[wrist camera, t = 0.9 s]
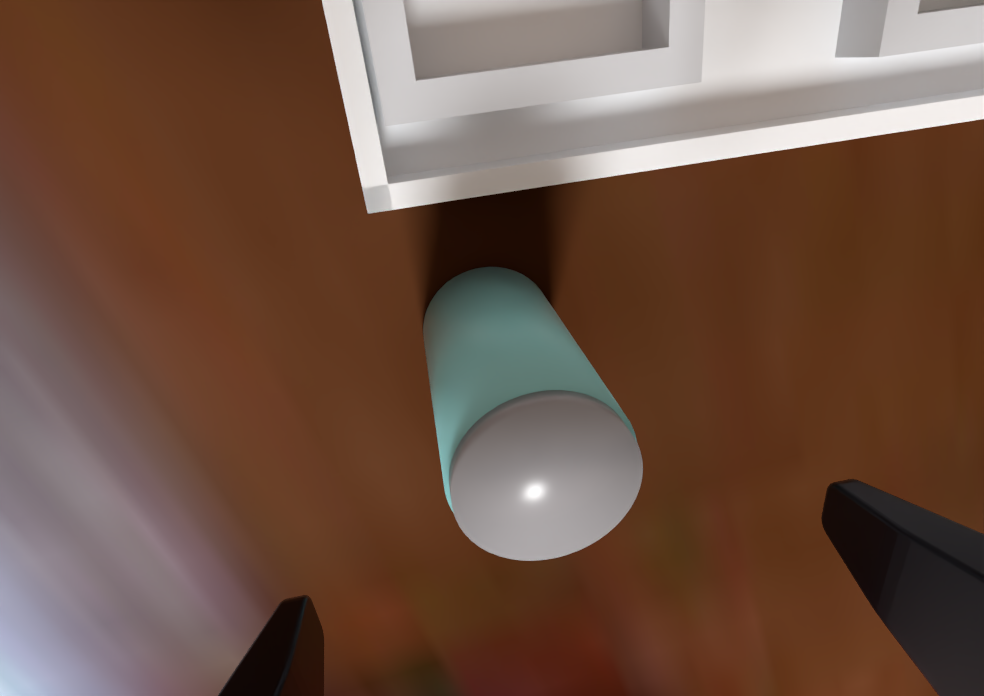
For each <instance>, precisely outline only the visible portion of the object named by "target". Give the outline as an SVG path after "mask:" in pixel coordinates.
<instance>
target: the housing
mask: <svg viewBox="0 0 984 696" xmlns="http://www.w3.org/2000/svg"><path fill="white" fill-rule="evenodd" d="M322 3H323V8H324V13H325V17H326V22H327V27H328V31H329V36H330V41H331V45H332V50H333V54H334V59H335V64H336V68H337V73H338V78H339V82H340V87H341V92H342V96H343V101H344V106H345V110H346V115H347V119H348V124H349V129H350V133H351V138H352V143H353V147H354V152H355V157H356V161H357V166H358V171H359V175H360V180H361V184H362V189H363V194H364V198H365V203H366V208H367V212H368V214H369V213H375V212H382V211H388V210H395V209H401V208H408V207H414V206H421V205H427V204H434V203H440V202H447V201H453V200H460V199H466V198H473V197H479V196H486V195H492V194H499V193H505V192H512V191H518V190H525V189H531V188H538V187H544V186H551V185H557V184H564V183H570V182H577V181H583V180H590V179H596V178H603V177H609V176H616V175H622V174H629V173H635V172H642V171H648V170H655V169H661V168H668V167H674V166H681V165H687V164H694V163H700V162H707V161H713V160H720V159H726V158H733V157H739V156H746V155H752V154H759V153H765V152H772V151H778V150H785V149H791V148H798V147H804V146H811V145H817V144H824V143H830V142H837V141H843V140H850V139H856V138H863V137H869V136H876V135H882V134H889V133H895V132H902V131H908V130H915V129H921V128H928V127H934V126H941V125H947V124H954V123H960V122H967V121H973V120H980V119H984V0H322Z"/></svg>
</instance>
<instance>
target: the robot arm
mask: <svg viewBox="0 0 984 696" xmlns="http://www.w3.org/2000/svg"><path fill="white" fill-rule="evenodd" d="M822 524H823V528H824V530H825V532H826V534H827V535H828V537H829V539H830V540H831V542H832V543H833V545H834V547H835V548H836V550H837V551H838V553H839V555H840V556H841V558H842V559H843V561H844V563H845V564H846V566H847V567H848V569H849V571H850V572H851V574H852V575H853V577H854V579H855V580H856V582H857V583H858V585H859V587H860V588H861V590H862V592H863V593H864V595H865V596H866V598H867V599H868V601H869V602H870V604H871V605H872V607H873V608H874V610H875V611H876V613H877V614H878V616H879V617H880V618H881V620H882V621H883V622H884V624H885V625H886V627H887V628H888V629H889V630H890V632H891V633H892V634H893V636H894V637H895V638H896V640H897V641H898V642H899V644H900V645H901V646H902V648H903V649H904V650H905V652H906V653H907V654H908V655H909V657H910V658H911V659H912V661H913V662H914V663H915V665H916V666H917V667H918V669H919V670H920V671H921V673H922V674H923V675H924V677H925V678H926V679H927V680H928V682H929V683H930V684H931V686H932V687H933V688H934V690H935V691H936V692H937V694H938V695H939V696H984V534H982V533H980V532H977V531H975V530H973V529H970V528H968V527H966V526H963V525H961V524H959V523H956V522H954V521H952V520H949V519H947V518H945V517H942V516H940V515H938V514H935V513H933V512H931V511H928V510H926V509H924V508H921V507H919V506H917V505H914V504H912V503H910V502H907V501H905V500H903V499H900V498H898V497H896V496H893V495H891V494H889V493H886V492H884V491H882V490H879V489H877V488H875V487H872V486H870V485H868V484H865V483H863V482H861V481H858V480H855V479H848V480H843V481H839V482H834V483H831V484H830V485H829V486H828V488H827V492H826V497H825V502H824V507H823V512H822ZM218 696H324V636H323V630H322V626H321V624H320V621H319V618H318V616H317V613H316V610H315V608H314V605H313V603H312V600H311V598H310V597H309V596H307V595H303V596H298V597H293V598H288V599H285V600H283V601H282V602H281V603H280V604H279V605H278V607H277V608H276V610H275V611H274V613H273V614H272V616H271V617H270V619H269V620H268V622H267V623H266V625H265V626H264V628H263V629H262V631H261V632H260V634H259V635H258V637H257V638H256V640H255V641H254V642H253V644H252V645H251V647H250V648H249V650H248V651H247V653H246V654H245V656H244V657H243V659H242V660H241V662H240V663H239V665H238V666H237V668H236V669H235V671H234V672H233V674H232V675H231V677H230V678H229V680H228V681H227V683H226V684H225V686H224V687H223V689H222V690H221V692H220V693H219V695H218Z"/></svg>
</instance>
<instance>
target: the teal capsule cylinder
mask: <svg viewBox="0 0 984 696" xmlns="http://www.w3.org/2000/svg"><path fill="white" fill-rule="evenodd" d="M423 337H424V345H425V352H426V359H427V367H428V374H429V381H430V388H431V396H432V403H433V410H434V417H435V424H436V432H437V439H438V446H439V453H440V461H441V468H442V475H443V482H444V490H445V494H446V497H447V501H448V503H449V505H450V507H451V509H452V511H453V513H454V515H455V518H456V520H457V522H458V524H459V526H460V528H461V529H462V531H463V532H464V533H465V535H466V536H467V537H468V538H469V539H470V540H471V541H472V542H474V543H475V544H476V545H478V546H479V547H481V548H482V549H484V550H486V551H488V552H490V553H492V554H495V555H498V556H501V557H505V558H509V559H515V560H527V561H534V560H546V559H552V558H557V557H561V556H564V555H568V554H570V553H573V552H576V551H578V550H581V549H583V548H585V547H587V546H589V545H591V544H592V543H594V542H596V541H597V540H599V539H600V538H602V537H603V536H604V535H606V534H607V533H608V532H610V531H611V530H612V529H613V528H614V527H615V526H616V525H617V524H618V523H619V522H620V521H621V520H622V519H623V517H624V516H625V515H626V514H627V512H628V511H629V509H630V508H631V506H632V504H633V503H634V501H635V499H636V497H637V494H638V491H639V489H640V485H641V481H642V473H643V464H642V456H641V452H640V449H639V446H638V444H637V440H636V436H635V432H634V430H633V428H632V425H631V423H630V422H629V420H628V418H627V417H626V415H625V414H624V412H623V411H622V409H621V408H620V406H619V405H618V404H617V402H616V401H615V399H614V398H613V396H612V395H611V393H610V392H609V390H608V389H607V387H606V386H605V384H604V383H603V381H602V380H601V378H600V377H599V375H598V374H597V373H596V371H595V370H594V368H593V367H592V365H591V364H590V362H589V361H588V359H587V358H586V356H585V355H584V353H583V352H582V350H581V349H580V347H579V346H578V344H577V343H576V342H575V340H574V339H573V337H572V336H571V334H570V333H569V331H568V330H567V328H566V327H565V325H564V324H563V322H562V321H561V319H560V318H559V316H558V315H557V313H556V312H555V311H554V309H553V308H552V306H551V305H550V303H549V302H548V300H547V299H546V297H545V296H544V294H543V293H542V291H541V290H540V289H539V288H538V286H537V285H536V284H535V283H534V282H533V281H531V280H530V279H529V278H527V277H526V276H524V275H523V274H521V273H518V272H516V271H514V270H510V269H507V268H501V267H481V268H476V269H472V270H469V271H466V272H463V273H461V274H459V275H457V276H456V277H454V278H452V279H451V280H450V281H448V282H447V283H446V284H445V285H444V286H442V287H441V288H440V289H439V291H438V292H437V293H436V294H435V296H434V297H433V299H432V300H431V302H430V304H429V306H428V308H427V311H426V314H425V317H424V323H423Z"/></svg>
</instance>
